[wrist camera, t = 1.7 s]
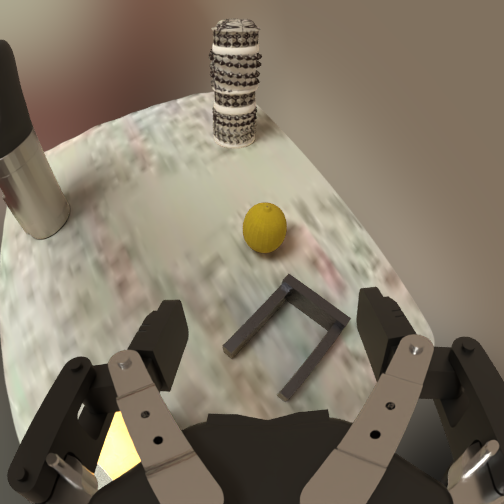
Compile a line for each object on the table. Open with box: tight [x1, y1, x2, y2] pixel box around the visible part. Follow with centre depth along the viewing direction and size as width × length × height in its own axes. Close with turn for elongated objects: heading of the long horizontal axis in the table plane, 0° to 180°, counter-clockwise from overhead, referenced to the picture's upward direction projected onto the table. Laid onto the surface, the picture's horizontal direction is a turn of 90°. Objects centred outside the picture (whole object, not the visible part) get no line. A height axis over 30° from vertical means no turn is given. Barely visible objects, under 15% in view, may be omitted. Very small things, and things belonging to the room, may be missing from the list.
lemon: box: [243, 203, 287, 253], centre depth 37 cm, size 6×6×8 cm
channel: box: [223, 274, 351, 402], centre depth 31 cm, size 11×9×4 cm
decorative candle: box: [209, 19, 262, 148], centre depth 46 cm, size 9×9×25 cm
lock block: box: [98, 412, 141, 480], centre depth 20 cm, size 5×5×13 cm
